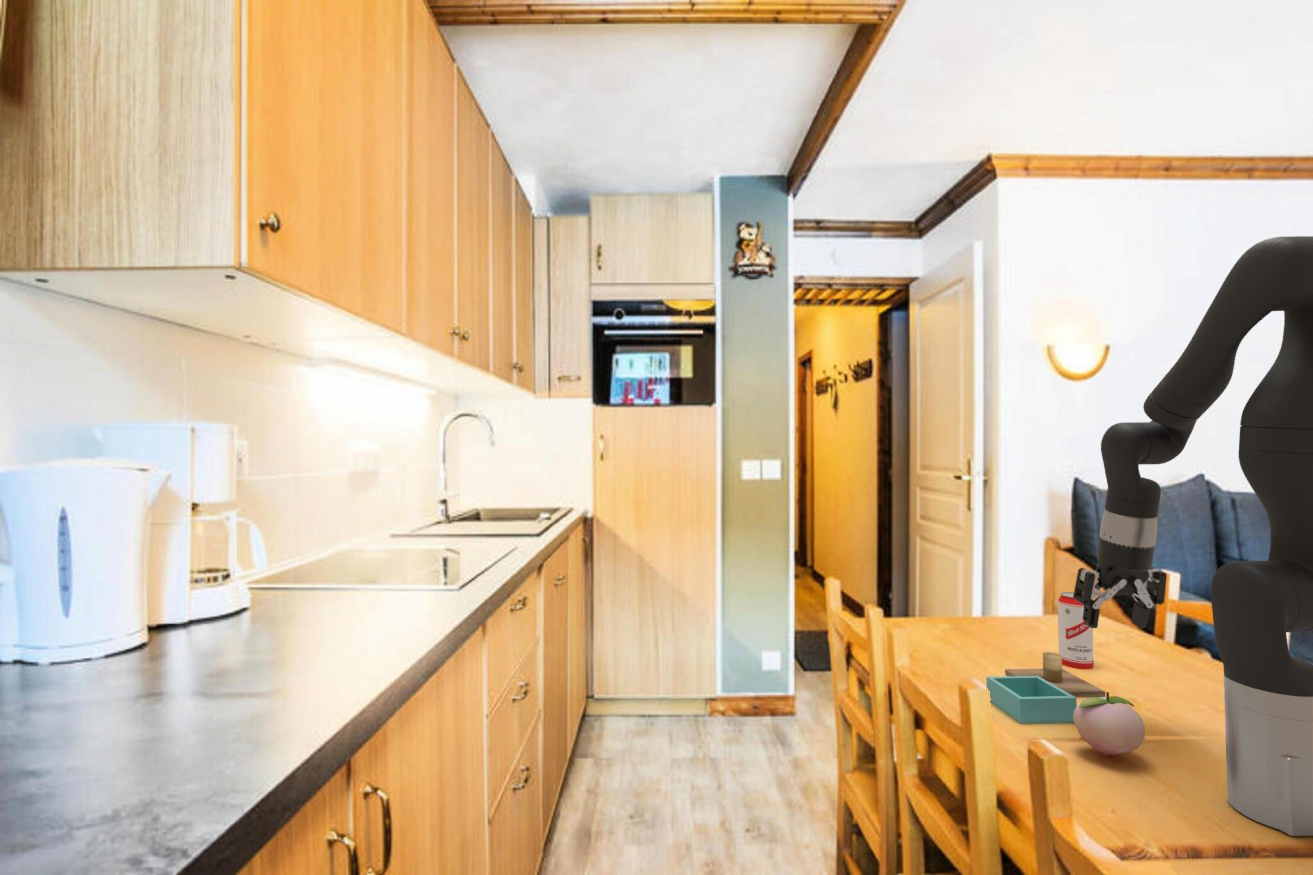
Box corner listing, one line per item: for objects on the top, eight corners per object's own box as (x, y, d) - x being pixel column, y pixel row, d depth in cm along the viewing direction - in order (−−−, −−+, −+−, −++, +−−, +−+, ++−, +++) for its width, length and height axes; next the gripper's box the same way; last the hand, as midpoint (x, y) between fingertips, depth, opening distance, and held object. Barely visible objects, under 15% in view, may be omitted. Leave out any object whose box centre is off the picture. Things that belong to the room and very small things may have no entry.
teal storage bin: (1077, 726, 103) (1076, 697, 103) (1020, 727, 102) (1019, 698, 103) (1038, 702, 113) (1038, 675, 113) (987, 703, 112) (986, 676, 113)
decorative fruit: (1116, 775, 87) (1114, 707, 88) (1063, 748, 95) (1062, 686, 95) (1161, 765, 90) (1159, 699, 90) (1107, 740, 98) (1105, 679, 98)
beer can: (1099, 673, 126) (1098, 598, 127) (1067, 671, 128) (1065, 597, 128) (1085, 663, 133) (1083, 591, 133) (1053, 661, 134) (1052, 590, 134)
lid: (1105, 696, 113) (1104, 665, 113) (1043, 697, 113) (1042, 666, 113) (1061, 673, 125) (1060, 644, 125) (1005, 674, 125) (1004, 645, 125)
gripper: (1102, 546, 97) (1090, 637, 100) (1187, 545, 97) (1173, 636, 100) (1070, 531, 104) (1059, 616, 107) (1149, 530, 105) (1136, 615, 108)
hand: (1114, 625), depth 104 cm, fingers open, 8 cm apart
